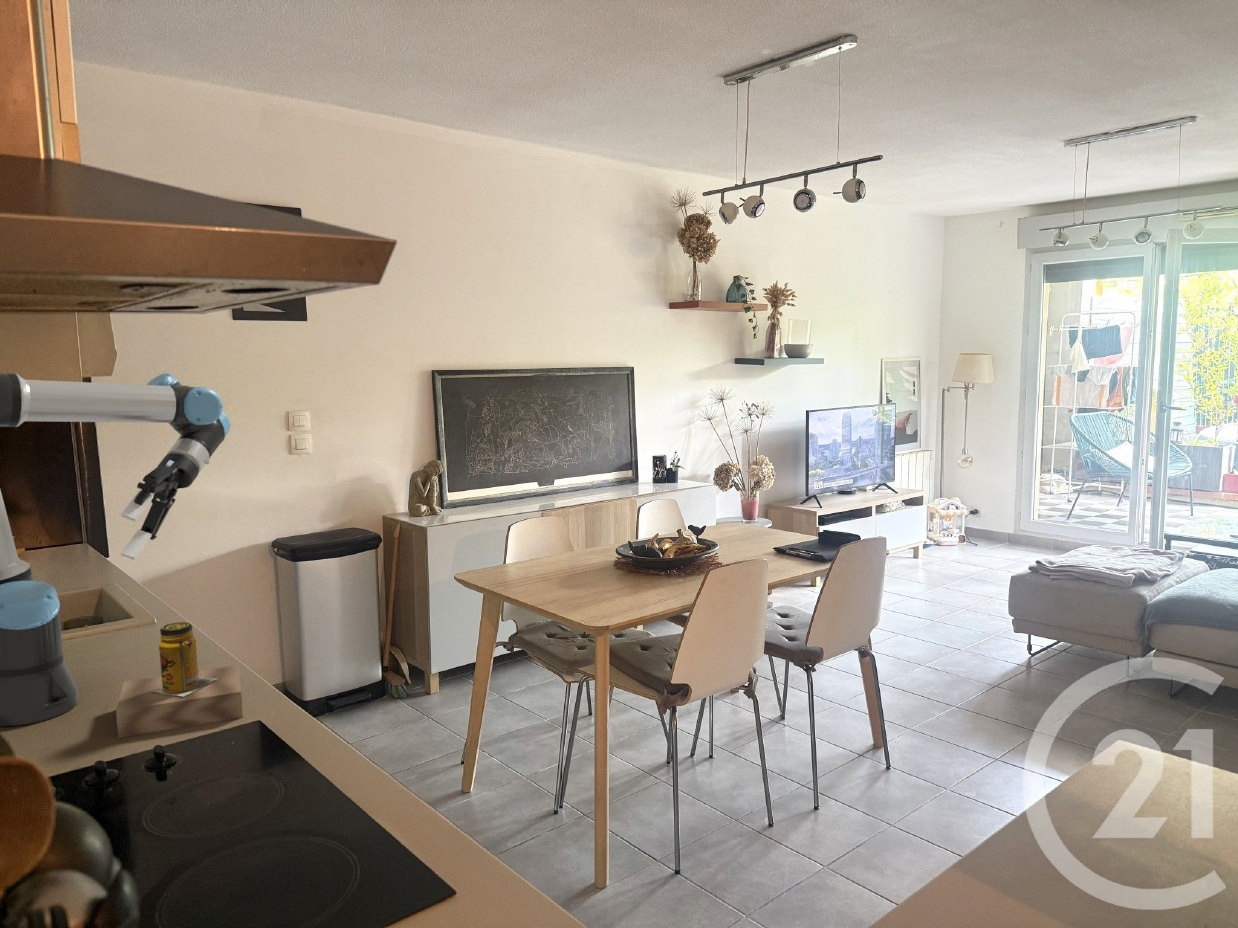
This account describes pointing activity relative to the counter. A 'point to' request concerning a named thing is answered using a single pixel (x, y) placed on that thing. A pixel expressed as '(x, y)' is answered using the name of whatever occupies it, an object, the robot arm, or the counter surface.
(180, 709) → the stand
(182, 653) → the condiment
